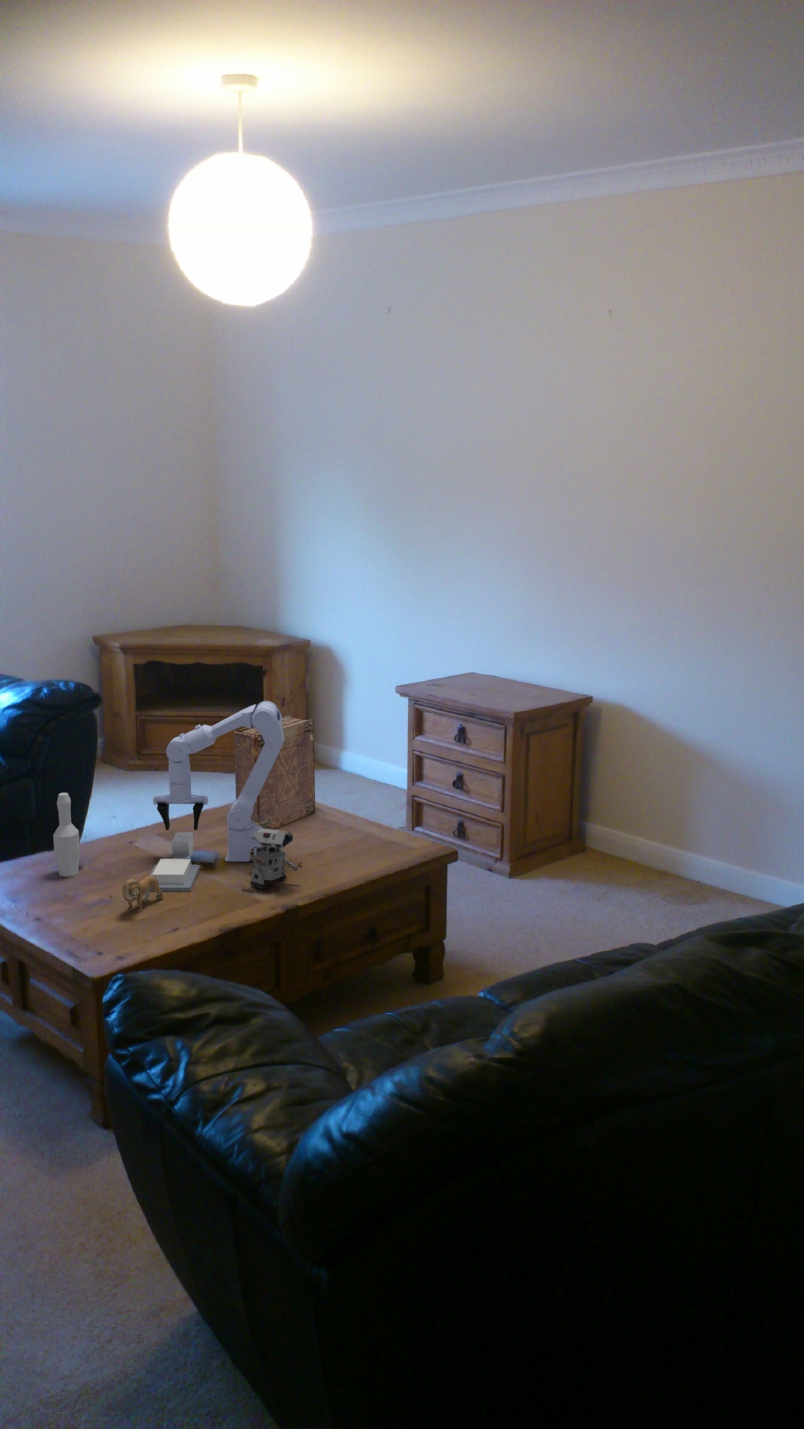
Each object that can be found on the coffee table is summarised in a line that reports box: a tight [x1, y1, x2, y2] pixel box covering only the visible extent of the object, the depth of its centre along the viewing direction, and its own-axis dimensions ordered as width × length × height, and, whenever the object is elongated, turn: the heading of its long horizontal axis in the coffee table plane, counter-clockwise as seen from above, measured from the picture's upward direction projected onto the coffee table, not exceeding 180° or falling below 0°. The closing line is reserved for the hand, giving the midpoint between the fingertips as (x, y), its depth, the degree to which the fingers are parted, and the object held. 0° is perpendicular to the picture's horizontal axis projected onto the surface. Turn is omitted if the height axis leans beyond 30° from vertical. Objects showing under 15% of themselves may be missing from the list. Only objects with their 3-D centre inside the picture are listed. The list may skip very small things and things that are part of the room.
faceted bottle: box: [52, 792, 81, 878], centre depth 287 cm, size 6×6×22 cm
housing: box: [171, 831, 194, 859], centre depth 301 cm, size 4×7×6 cm, turn 1°
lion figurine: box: [121, 875, 164, 913], centre depth 268 cm, size 15×5×9 cm, turn 163°
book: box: [233, 714, 316, 830], centre depth 327 cm, size 25×9×30 cm, turn 145°
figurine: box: [248, 828, 303, 890], centre depth 281 cm, size 9×12×15 cm
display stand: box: [148, 858, 201, 892], centre depth 285 cm, size 12×16×4 cm
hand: (181, 828), depth 299 cm, fingers open, 7 cm apart
